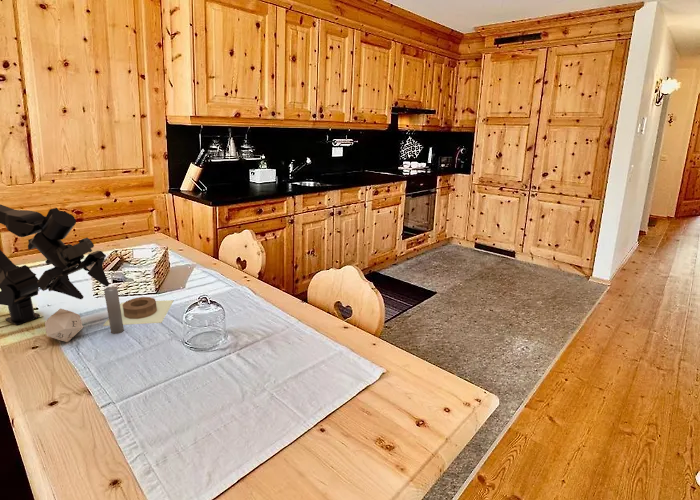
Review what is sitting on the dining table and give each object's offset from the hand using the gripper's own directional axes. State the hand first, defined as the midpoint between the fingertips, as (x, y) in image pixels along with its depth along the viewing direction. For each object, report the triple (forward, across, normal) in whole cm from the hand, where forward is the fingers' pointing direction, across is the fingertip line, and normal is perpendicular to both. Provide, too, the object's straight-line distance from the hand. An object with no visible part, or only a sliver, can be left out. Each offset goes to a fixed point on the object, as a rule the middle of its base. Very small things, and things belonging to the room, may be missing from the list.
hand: (95, 291), depth 122 cm
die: (+4, -6, +13) cm, 15 cm away
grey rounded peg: (+12, 0, +5) cm, 13 cm away
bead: (+10, +12, +6) cm, 17 cm away
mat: (+10, +12, +6) cm, 17 cm away
